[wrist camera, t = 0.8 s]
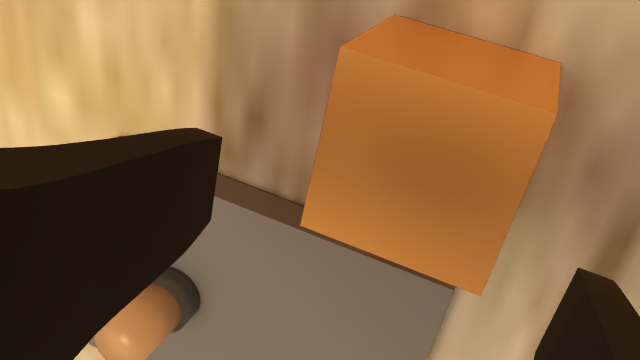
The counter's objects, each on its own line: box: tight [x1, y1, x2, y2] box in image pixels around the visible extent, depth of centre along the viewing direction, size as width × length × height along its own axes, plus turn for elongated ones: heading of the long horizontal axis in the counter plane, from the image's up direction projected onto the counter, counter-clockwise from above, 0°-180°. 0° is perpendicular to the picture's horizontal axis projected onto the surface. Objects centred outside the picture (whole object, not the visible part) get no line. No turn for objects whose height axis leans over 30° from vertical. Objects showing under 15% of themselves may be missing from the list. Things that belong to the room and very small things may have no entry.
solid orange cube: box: [300, 15, 561, 296], centre depth 17 cm, size 5×5×5 cm
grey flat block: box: [89, 136, 455, 360], centre depth 22 cm, size 14×10×5 cm
